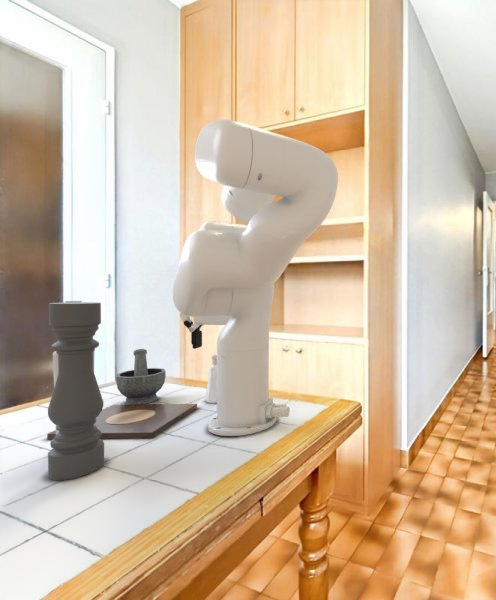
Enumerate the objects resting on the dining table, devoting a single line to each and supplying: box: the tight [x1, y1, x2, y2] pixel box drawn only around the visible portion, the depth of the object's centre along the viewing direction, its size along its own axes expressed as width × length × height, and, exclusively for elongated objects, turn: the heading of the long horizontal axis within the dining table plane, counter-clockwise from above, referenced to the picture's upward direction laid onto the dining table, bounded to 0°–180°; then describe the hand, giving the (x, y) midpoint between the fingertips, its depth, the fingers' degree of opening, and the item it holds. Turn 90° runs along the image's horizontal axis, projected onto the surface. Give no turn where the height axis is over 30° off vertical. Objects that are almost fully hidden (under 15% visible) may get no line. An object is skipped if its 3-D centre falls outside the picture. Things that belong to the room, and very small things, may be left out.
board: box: [46, 403, 198, 440], centre depth 71 cm, size 18×16×1 cm
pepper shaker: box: [205, 354, 217, 404], centre depth 85 cm, size 5×5×11 cm
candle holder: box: [47, 301, 105, 481], centre depth 52 cm, size 6×6×25 cm
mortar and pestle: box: [115, 348, 167, 404], centre depth 84 cm, size 11×9×12 cm
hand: (217, 347), depth 86 cm, fingers open, 9 cm apart
